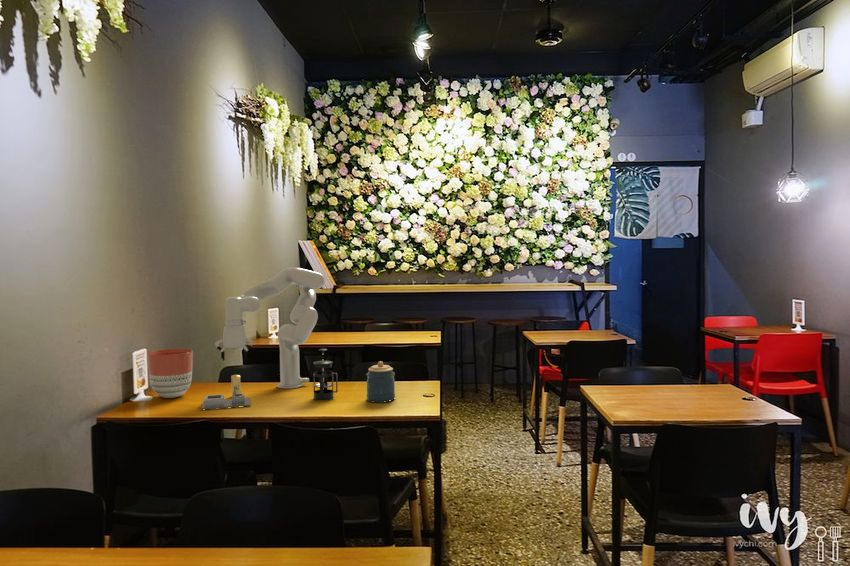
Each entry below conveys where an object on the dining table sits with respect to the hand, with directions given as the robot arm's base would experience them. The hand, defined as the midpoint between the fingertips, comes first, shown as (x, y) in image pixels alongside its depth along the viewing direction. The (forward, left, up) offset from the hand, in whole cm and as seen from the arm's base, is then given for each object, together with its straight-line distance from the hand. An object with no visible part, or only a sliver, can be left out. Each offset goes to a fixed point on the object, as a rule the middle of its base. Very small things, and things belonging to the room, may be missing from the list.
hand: (234, 359), depth 272 cm
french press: (-39, +18, -18) cm, 47 cm away
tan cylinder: (0, 0, -18) cm, 18 cm away
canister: (-63, +29, -18) cm, 72 cm away
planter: (+29, -10, -18) cm, 35 cm away
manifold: (+4, +15, -18) cm, 23 cm away
